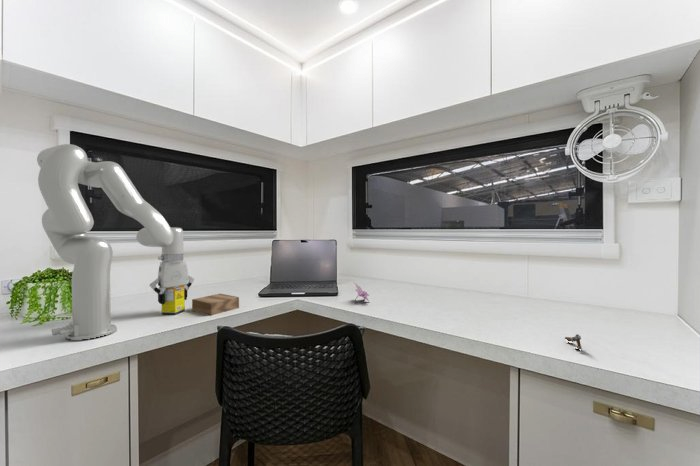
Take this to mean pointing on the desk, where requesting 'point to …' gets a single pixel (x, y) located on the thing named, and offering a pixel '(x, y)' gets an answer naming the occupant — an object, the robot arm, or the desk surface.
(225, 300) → the walnut block
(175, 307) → the supplement box
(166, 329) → the desk surface
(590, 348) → the desk surface
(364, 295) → the lily
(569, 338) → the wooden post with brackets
